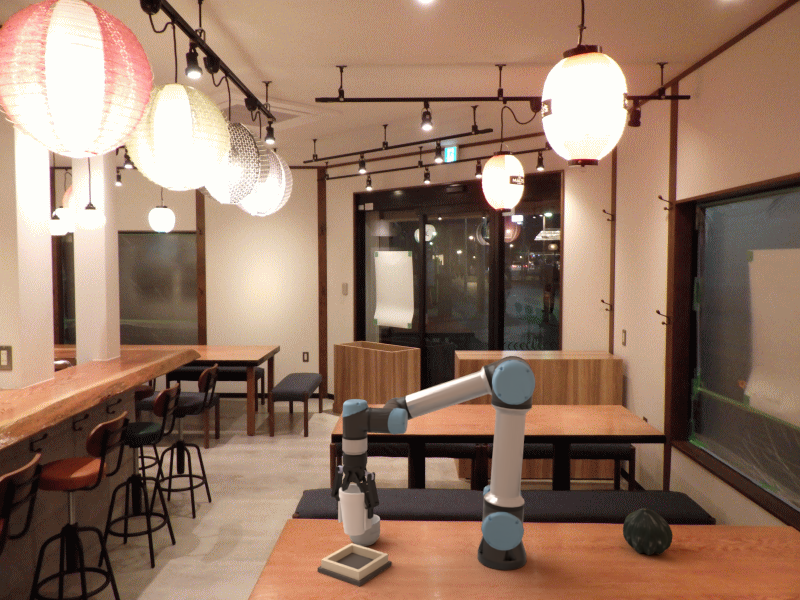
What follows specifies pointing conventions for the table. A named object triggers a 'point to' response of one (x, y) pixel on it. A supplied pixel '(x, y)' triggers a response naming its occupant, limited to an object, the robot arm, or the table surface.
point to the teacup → (368, 533)
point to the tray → (354, 564)
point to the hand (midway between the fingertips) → (354, 524)
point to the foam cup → (352, 510)
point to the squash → (647, 532)
